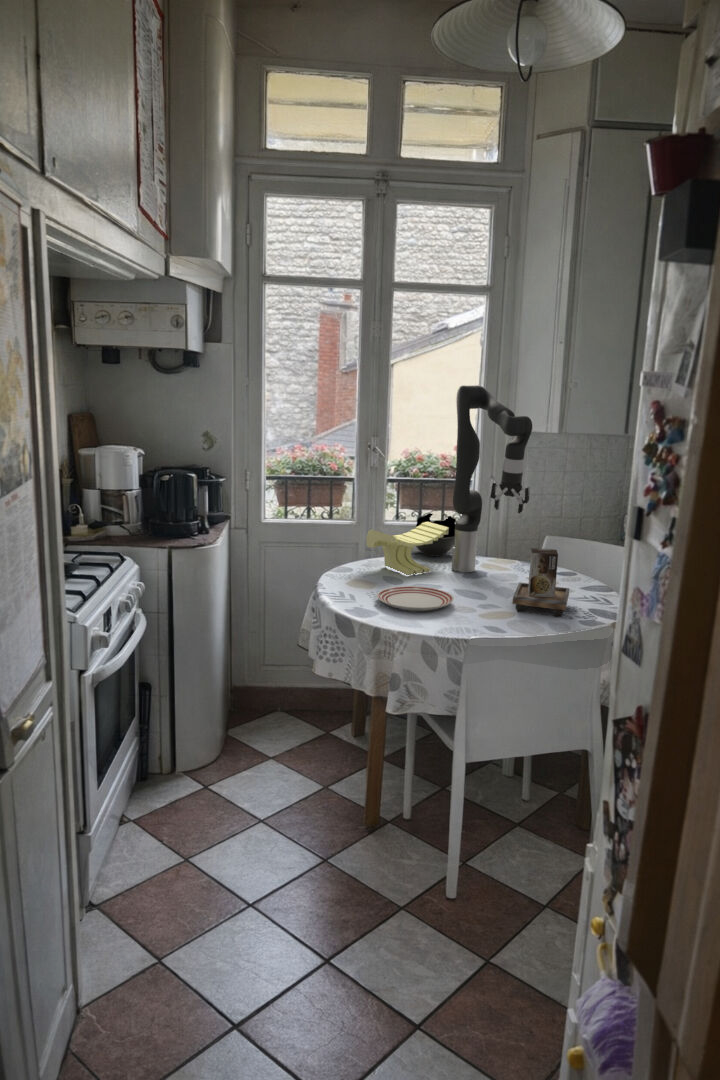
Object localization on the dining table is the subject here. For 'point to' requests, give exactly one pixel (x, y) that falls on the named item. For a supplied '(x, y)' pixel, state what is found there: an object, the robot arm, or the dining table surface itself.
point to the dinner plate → (415, 598)
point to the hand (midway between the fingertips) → (508, 511)
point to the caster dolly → (541, 599)
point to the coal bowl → (442, 543)
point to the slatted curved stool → (405, 546)
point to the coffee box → (543, 572)
